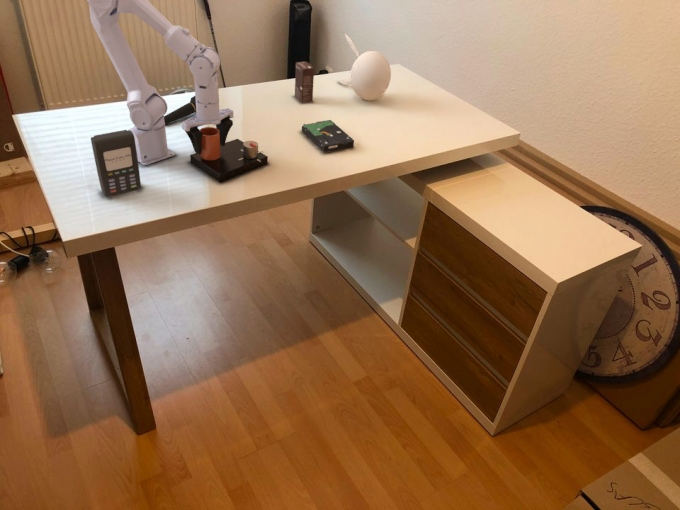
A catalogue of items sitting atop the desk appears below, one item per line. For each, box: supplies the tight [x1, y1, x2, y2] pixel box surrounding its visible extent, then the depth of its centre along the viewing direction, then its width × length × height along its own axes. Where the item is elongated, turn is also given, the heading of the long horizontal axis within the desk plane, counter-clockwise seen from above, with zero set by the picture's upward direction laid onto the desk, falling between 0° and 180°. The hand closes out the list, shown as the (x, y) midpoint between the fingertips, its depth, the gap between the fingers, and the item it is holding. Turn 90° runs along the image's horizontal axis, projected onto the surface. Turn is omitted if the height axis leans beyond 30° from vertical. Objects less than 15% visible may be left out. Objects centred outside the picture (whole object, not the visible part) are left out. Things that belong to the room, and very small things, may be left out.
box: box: [294, 61, 315, 104], centre depth 185 cm, size 6×4×12 cm
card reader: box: [90, 129, 142, 197], centre depth 130 cm, size 9×4×15 cm, turn 126°
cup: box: [199, 126, 221, 160], centre depth 146 cm, size 5×5×7 cm
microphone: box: [164, 95, 196, 126], centre depth 167 cm, size 6×6×20 cm
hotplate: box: [189, 138, 269, 184], centre depth 149 cm, size 17×14×3 cm
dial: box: [243, 140, 259, 159], centre depth 149 cm, size 4×4×4 cm
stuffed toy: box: [339, 33, 392, 101], centre depth 192 cm, size 19×14×25 cm
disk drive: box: [301, 119, 355, 153], centre depth 166 cm, size 10×3×15 cm
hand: (209, 148), depth 146 cm, fingers open, 7 cm apart
